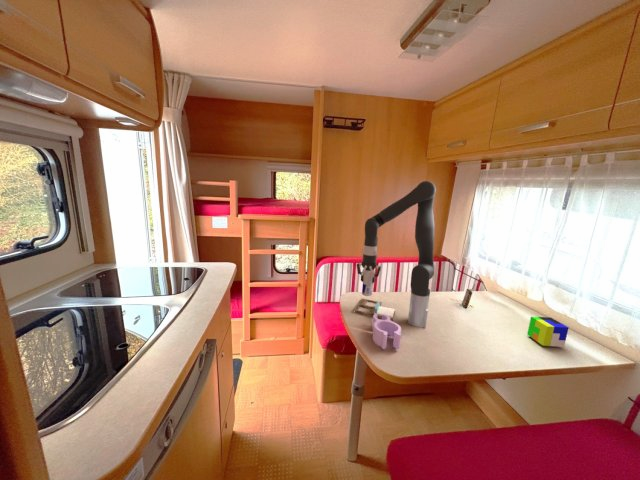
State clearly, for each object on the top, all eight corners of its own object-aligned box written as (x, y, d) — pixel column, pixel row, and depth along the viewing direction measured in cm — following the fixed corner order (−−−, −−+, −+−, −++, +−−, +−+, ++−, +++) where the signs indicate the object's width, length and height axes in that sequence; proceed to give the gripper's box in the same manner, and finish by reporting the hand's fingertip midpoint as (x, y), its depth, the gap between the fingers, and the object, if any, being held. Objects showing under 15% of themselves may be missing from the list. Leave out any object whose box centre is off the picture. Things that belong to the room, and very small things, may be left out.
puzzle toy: (564, 346, 126) (568, 327, 124) (542, 345, 126) (547, 326, 124) (546, 335, 135) (550, 317, 134) (527, 334, 136) (530, 316, 134)
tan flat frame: (396, 307, 160) (396, 305, 160) (393, 321, 143) (393, 318, 142) (361, 300, 168) (361, 298, 167) (354, 312, 150) (354, 310, 150)
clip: (366, 326, 136) (367, 313, 135) (390, 326, 137) (391, 314, 136) (377, 349, 117) (378, 334, 115) (404, 349, 118) (406, 335, 116)
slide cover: (394, 310, 152) (395, 305, 151) (392, 318, 143) (393, 312, 142) (376, 307, 155) (377, 301, 155) (374, 314, 146) (374, 308, 145)
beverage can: (372, 293, 153) (374, 269, 150) (371, 297, 148) (373, 271, 145) (362, 292, 155) (364, 267, 152) (361, 295, 149) (363, 270, 147)
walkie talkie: (477, 312, 159) (481, 283, 156) (453, 308, 163) (457, 280, 159) (471, 303, 172) (475, 277, 168) (449, 300, 175) (453, 274, 172)
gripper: (383, 253, 148) (381, 282, 151) (358, 250, 153) (356, 278, 156) (381, 256, 141) (379, 286, 144) (355, 253, 146) (353, 282, 149)
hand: (367, 282), depth 150 cm, fingers closed on beverage can, 5 cm apart
